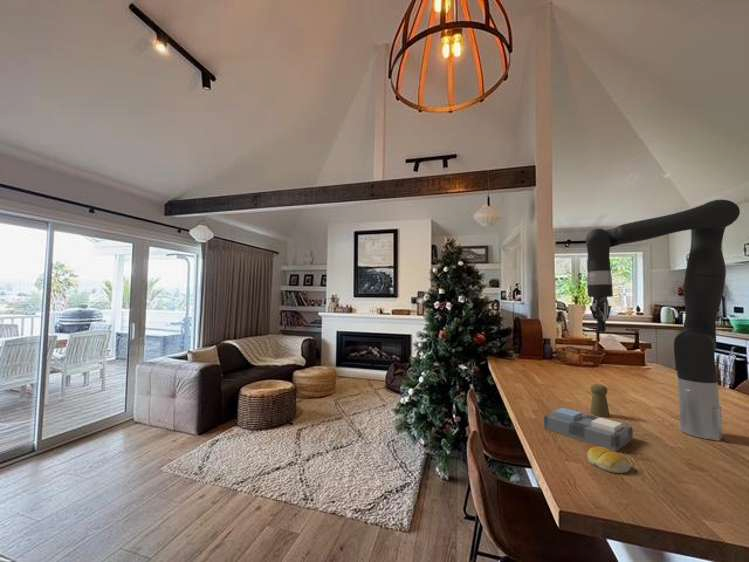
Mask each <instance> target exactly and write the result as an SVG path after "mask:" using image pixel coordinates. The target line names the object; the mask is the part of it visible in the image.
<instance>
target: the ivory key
mask: <svg viewBox="0 0 749 562" xmlns="http://www.w3.org/2000/svg"><path fill="white" fill-rule="evenodd" d="M622 424H623V423H622V422H619V421H615V420H611V419H607V418H605V417H598V418H597V419H595V420H593V421H591V426H592V427H596V428H599V429H603V430H606V431H610V432H613V433H616V432H618V431H620V430H621V429H622Z"/></svg>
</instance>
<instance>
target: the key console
mask: <svg viewBox="0 0 749 562" xmlns="http://www.w3.org/2000/svg"><path fill="white" fill-rule="evenodd" d="M581 413H582V412H581ZM543 418H544V419H543V421H544V422H543V424H544V429H545V430H547V429H548V430H547V431H550V430H551V431H550V432H553V431H554V433H556V432H557V433H556V434H559V433H560V434H559V435H562V434H563V436H566V437H569V438H572V439H575V440H578V441H581V440H582V441H581V442H584V441H585V442H584V443H587V442H588V443H587V444H591V445H594V446H595V447H605V448H608V449H609V450H611V451H612V452H618V451H619V450H620V449H622V448H623V447H625V446H626V445H628V444H629V443H631V442H632V441H633V440H634V438H633V437H634V435H633V434H634V433H633V432H634V431H633V425H628V424H625V423H622V429H621V430H620V431H618V432H616V433H613V432H610V431H606V430H603V429H599V428H596V427H592V426H591V421H593V420H595V419H597V418H599V417H598V416H595V415H592V414H587V413H582V418H580V419H578V420H576V421H571V420H568V419H564V418H561V417H557V416H554V412H552V413H549V414H547V415H544V416H543ZM631 440H632V441H631ZM628 442H629V443H628Z"/></svg>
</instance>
